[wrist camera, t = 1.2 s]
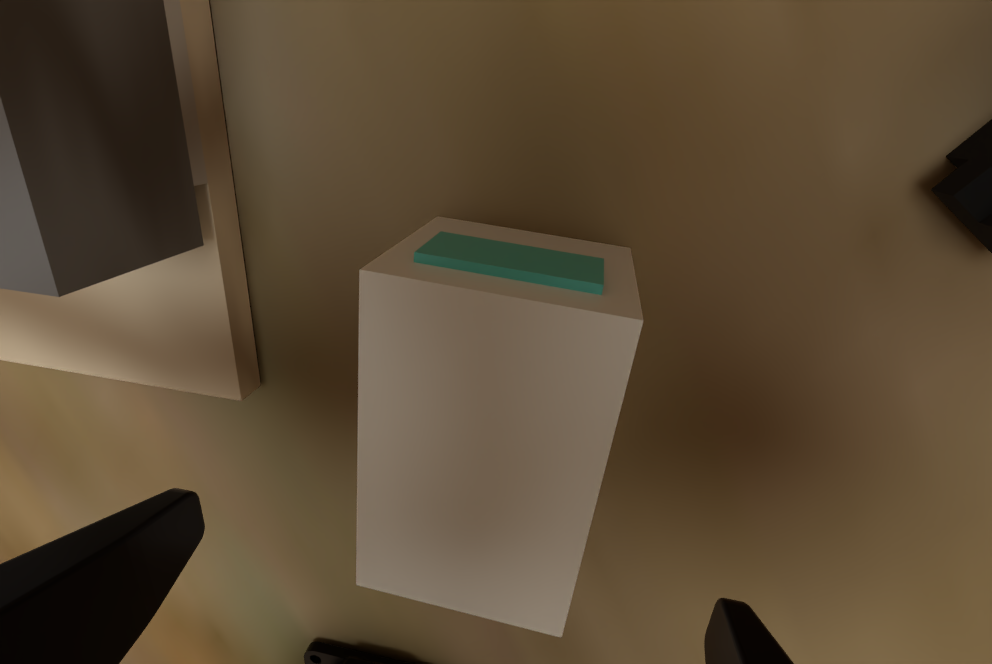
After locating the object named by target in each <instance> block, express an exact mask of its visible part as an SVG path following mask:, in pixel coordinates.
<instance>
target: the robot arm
mask: <svg viewBox="0 0 992 664" xmlns="http://www.w3.org/2000/svg"><path fill="white" fill-rule="evenodd" d="M204 529H205V524H204V519H203V514H202V510H201V505H200V500H199V496H198V495H197V494H196V493H195V492H193V491H189V490H184V489H178V488H174V489H170V490H167V491H165V492H163V493H160V494H158V495H156V496H154V497H151V498H149V499H147V500H145V501H142V502H140V503H138V504H135V505H133V506H131V507H129V508H126V509H124V510H122V511H120V512H117V513H115V514H113V515H111V516H108V517H106V518H104V519H101V520H99V521H97V522H95V523H92V524H90V525H88V526H86V527H83V528H81V529H79V530H77V531H74V532H72V533H70V534H67V535H65V536H63V537H61V538H58V539H56V540H54V541H52V542H49V543H47V544H45V545H42V546H40V547H38V548H36V549H33V550H31V551H29V552H27V553H24V554H22V555H20V556H17V557H15V558H13V559H11V560H8V561H6V562H4V563H2V564H0V664H119V663H120V662H121V660H122V659H123V658H124V656H125V655H126V654H127V652H128V651H129V650H130V648H131V647H132V646H133V644H134V643H135V642H136V640H137V639H138V638H139V636H140V635H141V633H142V632H143V631H144V629H145V628H146V626H147V625H148V624H149V622H150V621H151V619H152V618H153V616H154V615H155V613H156V612H157V610H158V609H159V607H160V606H161V604H162V602H163V601H164V599H165V597H166V596H167V594H168V593H169V591H170V589H171V588H172V586H173V585H174V583H175V581H176V580H177V578H178V577H179V575H180V573H181V572H182V570H183V569H184V567H185V565H186V564H187V562H188V560H189V559H190V557H191V556H192V554H193V552H194V551H195V549H196V548H197V546H198V544H199V543H200V541H201V539H202V537H203V534H204ZM704 647H705V661H706V664H794V663H793V662H792V661H791V659H790V658H789V657H788V655H787V654H786V653H785V651H784V650H783V649H782V648H781V646H780V645H779V644H778V642H777V641H776V640H775V638H774V637H773V636H772V635H771V633H770V632H769V631H768V629H767V628H766V627H765V625H764V624H763V623H762V622H761V620H760V619H759V618H758V616H757V615H756V614H755V612H754V611H753V610H752V609H751V607H750V606H749V605H747V604H746V603H744V602H741V601H736V600H731V599H726V598H720V599H718V600H717V602H716V604H715V607H714V610H713V612H712V615H711V618H710V621H709V624H708V627H707V630H706V634H705V645H704ZM304 660H305V664H409V663H405V662H401V661H397V660H393V659H388V658H384V657H380V656H376V655H372V654H367V653H363V652H359V651H355V650H351V649H346V648H342V647H338V646H334V645H330V644H325V643H321V642H312V643H311V644H310V645H309V647H308V648H307V650H306V652H305V654H304Z"/></svg>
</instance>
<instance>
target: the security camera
mask: <svg viewBox="0 0 992 664" xmlns="http://www.w3.org/2000/svg"><path fill="white" fill-rule="evenodd" d="M946 157H947V158H948V159H949V160H950V161H951V162H952V163H953V164H954V165H955V166H956V167H957V169H956V170H955V171H954V172H953V173H951V174H950V175H949V176H948V177H946V178H945V179H944V180H942V181H941V182H940V183H939V184H937V185H936V186H935V187H934V188H932V189H931V190H932V192H933V193H934V194H935V195H936V196H937V197H938V198H939V199H940V200H941V201H942V202H943V203H944V204H945V205H946V206H947V207H948V208H949V209H950V210H951V211H952V212H953V213H954V214H955V215H956V217H957V218H958V219H959V220H960V221H961V222H962V223H963V224H964V225H965V226H966V227H967V228H968V229H969V230H970V231H971V232H972V233H973V234H974V235H975V236H976V237H977V238H978V239H979V240H980V242H981V243H982V244H983V245H984V246H985V247H986V248H987V249H988V250H989V251H990V252H991V253H992V120H990V121H989V122H988V123H987V124H985V125H984V126H983V127H982V128H980V129H979V130H978V131H977V132H975V133H974V134H973V135H972V136H971V137H969V138H968V139H967V140H966V141H964V142H963V143H962V144H961V145H959V146H958V147H957V148H956V149H954V150H953V151H952V152H951V153H949V154H948V155H947V156H946Z"/></svg>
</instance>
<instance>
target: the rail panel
mask: <svg viewBox="0 0 992 664" xmlns="http://www.w3.org/2000/svg"><path fill="white" fill-rule="evenodd" d="M0 360H5V361H10V362H16V363H22V364H28V365H34V366H40V367H45V368H51V369H57V370H63V371H69V372H75V373H80V374H86V375H92V376H98V377H104V378H110V379H115V380H121V381H127V382H133V383H139V384H145V385H150V386H156V387H162V388H168V389H174V390H180V391H186V392H191V393H197V394H203V395H209V396H215V397H221V398H226V399H232V400H238V401H242V400H243V399H245V398H246V397H247V396H248V395H249V394H251V393H252V392H253V391H254V390H256V389H257V388H258V387H259V386H260V385H261V384H260V376H259V369H258V361H257V354H256V347H255V339H254V332H253V324H252V317H251V310H250V302H249V295H248V287H247V280H246V272H245V265H244V258H243V250H242V243H241V235H240V228H239V220H238V213H237V206H236V198H235V191H234V183H233V176H232V169H231V161H230V154H229V146H228V139H227V131H226V124H225V117H224V109H223V102H222V94H221V87H220V79H219V72H218V65H217V57H216V50H215V42H214V35H213V27H212V20H211V13H210V5H209V0H0Z"/></svg>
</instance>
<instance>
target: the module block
mask: <svg viewBox="0 0 992 664" xmlns="http://www.w3.org/2000/svg"><path fill="white" fill-rule="evenodd" d="M643 321H644V320H643V315H642V309H641V303H640V298H639V292H638V287H637V281H636V275H635V270H634V264H633V259H632V253H631V248H628V247H622V246H616V245H610V244H604V243H598V242H592V241H586V240H580V239H574V238H567V237H561V236H555V235H549V234H543V233H537V232H531V231H525V230H519V229H513V228H506V227H500V226H494V225H488V224H482V223H476V222H470V221H464V220H458V219H452V218H445V217H439V216H437V217H436V218H434V219H433V220H431V221H430V222H428V223H427V224H425V225H424V226H422V227H421V228H419V229H418V230H417V231H415V232H414V233H412V234H411V235H409V236H408V237H406V238H405V239H403V240H402V241H400V242H399V243H397V244H396V245H394V246H393V247H392V248H390V249H389V250H387V251H386V252H384V253H383V254H381V255H380V256H378V257H377V258H375V259H374V260H372V261H371V262H369V263H368V264H367V265H365V266H364V267H362V268H361V269H359V350H358V446H357V541H356V585H358V586H362V587H366V588H370V589H374V590H378V591H382V592H385V593H389V594H393V595H397V596H401V597H405V598H409V599H413V600H417V601H420V602H424V603H428V604H432V605H436V606H440V607H444V608H448V609H452V610H456V611H459V612H463V613H467V614H471V615H475V616H479V617H483V618H487V619H491V620H494V621H498V622H502V623H506V624H510V625H514V626H518V627H522V628H526V629H529V630H533V631H537V632H541V633H545V634H549V635H553V636H557V637H561V638H562V634H563V630H564V626H565V622H566V618H567V615H568V611H569V607H570V603H571V599H572V595H573V591H574V588H575V584H576V580H577V576H578V572H579V568H580V564H581V560H582V557H583V553H584V549H585V545H586V541H587V537H588V533H589V530H590V526H591V522H592V518H593V514H594V510H595V506H596V502H597V499H598V495H599V491H600V487H601V483H602V479H603V475H604V472H605V468H606V464H607V460H608V456H609V452H610V448H611V444H612V441H613V437H614V433H615V429H616V425H617V421H618V417H619V413H620V410H621V406H622V402H623V398H624V394H625V390H626V386H627V383H628V379H629V375H630V371H631V367H632V363H633V359H634V355H635V352H636V348H637V344H638V340H639V336H640V332H641V328H642V325H643Z"/></svg>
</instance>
